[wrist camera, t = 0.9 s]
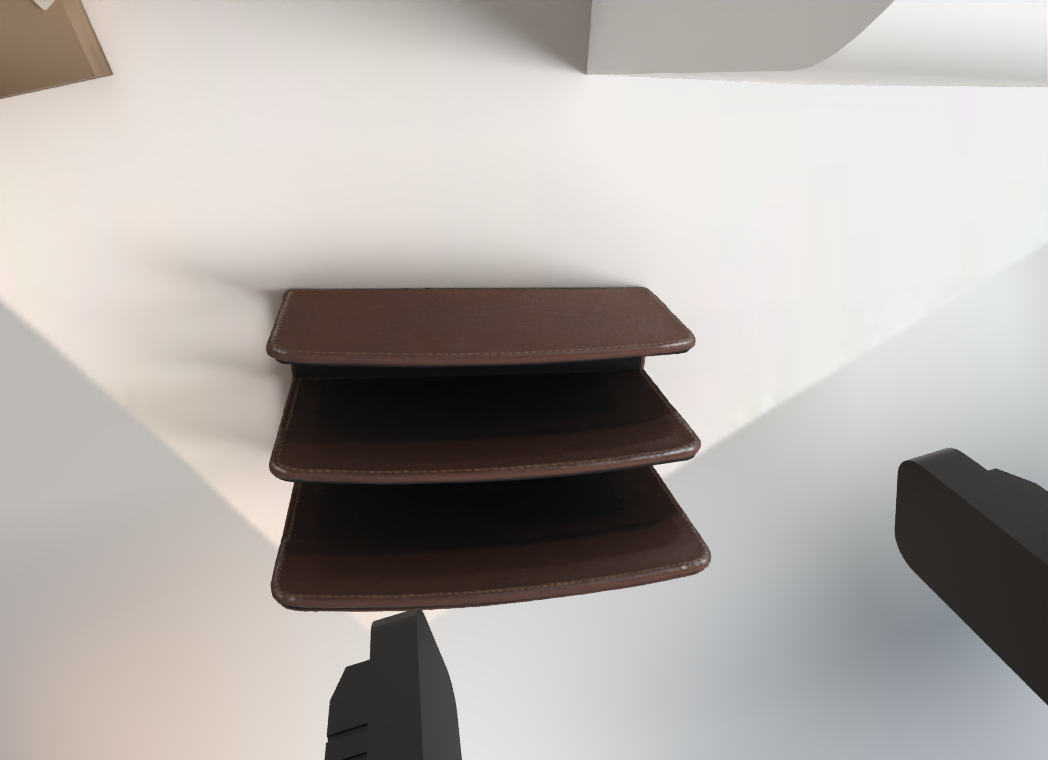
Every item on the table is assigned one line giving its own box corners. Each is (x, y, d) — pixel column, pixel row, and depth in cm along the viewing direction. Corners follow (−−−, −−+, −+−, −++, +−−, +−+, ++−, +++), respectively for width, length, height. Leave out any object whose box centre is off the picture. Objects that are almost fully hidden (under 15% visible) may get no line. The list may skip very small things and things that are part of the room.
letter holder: (627, 434, 43) (726, 594, 30) (302, 450, 39) (262, 639, 26) (648, 284, 38) (774, 398, 26) (285, 286, 35) (226, 420, 22)
